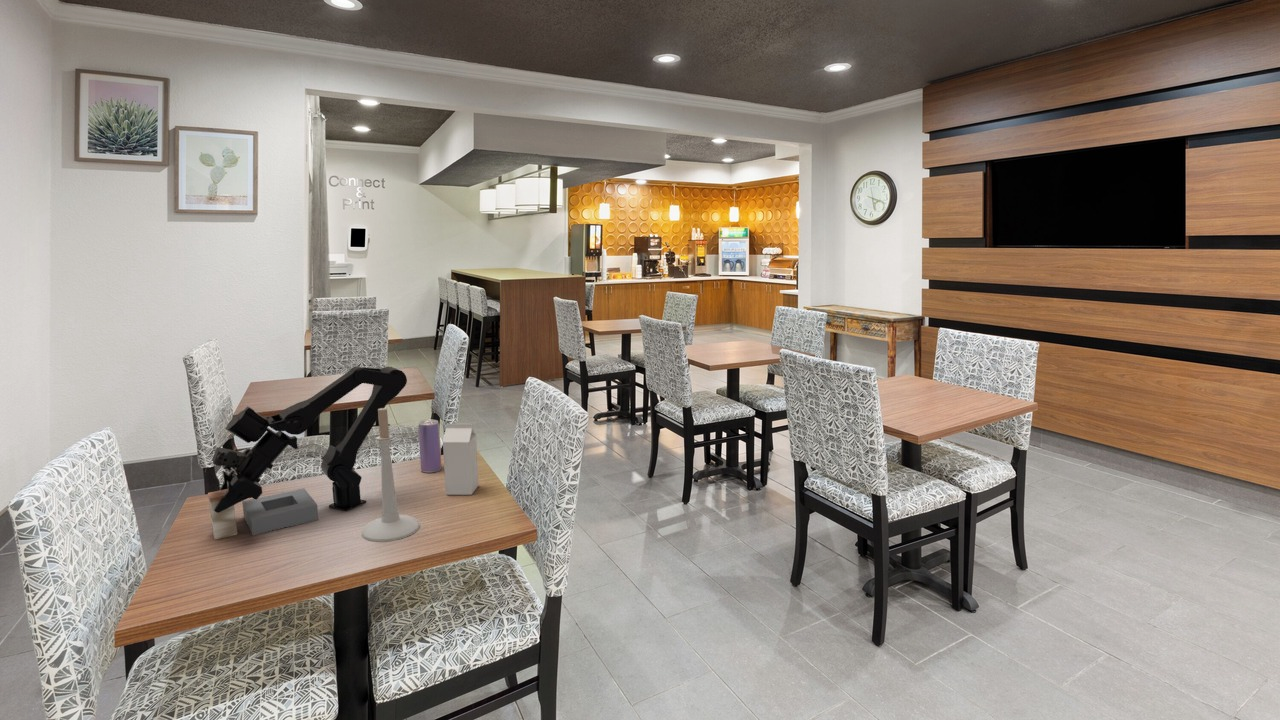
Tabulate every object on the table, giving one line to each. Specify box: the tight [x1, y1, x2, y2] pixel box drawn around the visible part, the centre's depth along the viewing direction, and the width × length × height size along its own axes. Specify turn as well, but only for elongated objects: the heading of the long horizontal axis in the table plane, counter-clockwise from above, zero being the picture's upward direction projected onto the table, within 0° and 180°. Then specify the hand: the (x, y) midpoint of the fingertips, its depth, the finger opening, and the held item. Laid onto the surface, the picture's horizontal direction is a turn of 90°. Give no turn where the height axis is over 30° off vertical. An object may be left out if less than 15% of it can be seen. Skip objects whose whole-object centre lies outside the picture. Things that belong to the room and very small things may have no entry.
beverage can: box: [417, 419, 442, 474], centre depth 192 cm, size 6×6×15 cm
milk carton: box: [442, 423, 479, 496], centre depth 175 cm, size 7×7×19 cm
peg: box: [207, 489, 238, 540], centre depth 149 cm, size 4×4×10 cm
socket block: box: [241, 488, 319, 536], centre depth 158 cm, size 14×14×4 cm
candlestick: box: [361, 407, 421, 542], centre depth 149 cm, size 13×13×30 cm
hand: (214, 508), depth 148 cm, fingers closed on peg, 4 cm apart
